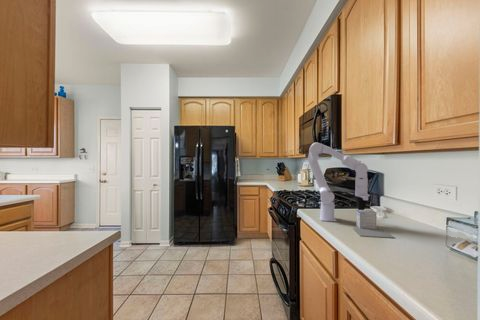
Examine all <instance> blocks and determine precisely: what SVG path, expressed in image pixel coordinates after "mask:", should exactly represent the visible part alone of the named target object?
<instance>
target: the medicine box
mask: <svg viewBox="0 0 480 320" xmlns="http://www.w3.org/2000/svg"><path fill="white" fill-rule="evenodd" d="M355 223H356V228H360V229H377V212H376V211H375V210H372V209H364V210H358V209H356V222H355Z"/></svg>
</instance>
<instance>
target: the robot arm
mask: <svg viewBox="0 0 480 320" xmlns="http://www.w3.org/2000/svg"><path fill="white" fill-rule="evenodd" d="M322 154H328V155H331V156H332V157H334V158H336V159H337V160H339V161H341V164H342V165H343V166H345V167H346V168H348V169H350V170H352V171H354V172H355V178H354V179H355V188H354V189H355V190H354V191H355V192H354V196H355V197H354V200H355V202H356V206H357V210H366V205H367V204H368V202H369V197H370V196H371V195H370V194H369V193H368V186H369V185H368V183H369V182H368V172H369V169H368V166H367V165H366V164H365V163H364V162H362V161H361V160H357V159H356V158H355V157H354V156H353V155H348V154H347V155H344V154H342V153H340V152H339V151H337V150H335V149H334V148H332V147H330V146H327V145H325V144H323V143H321V142H316V141H315V142H313V143H312V144H310V146H309V149H308V155H307V161H308V164H309V166H310V169H311V172H312V174H313V177H314V179H315V181H316V184H317V186H318V189H319V190H318V191H319V195H320V201H321V202H320V215H319V216H318V218H319V219H320V221H321V222H337V219H336V218H335V202H334V200H335V194H334V193H333V192H332V190H331V189H330V187H329V186H328V183H327V180H326V178H325V176H324V174H323V171H322V169H321V166H320V164H319V162H318V159H319V158H320V156H321V155H322Z"/></svg>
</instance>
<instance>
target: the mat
mask: <svg viewBox="0 0 480 320" xmlns="http://www.w3.org/2000/svg"><path fill="white" fill-rule="evenodd" d="M352 229H353V231H354V232H355V233H356V234H357V235H358V236H359V237H366V238H381V239H385V238H386V239H395V238H396V237H395V236H394V235H392V234H391V233H389V231H387V230H385V229H377V228H376V229H360V228H358V227H353V228H352Z"/></svg>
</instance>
